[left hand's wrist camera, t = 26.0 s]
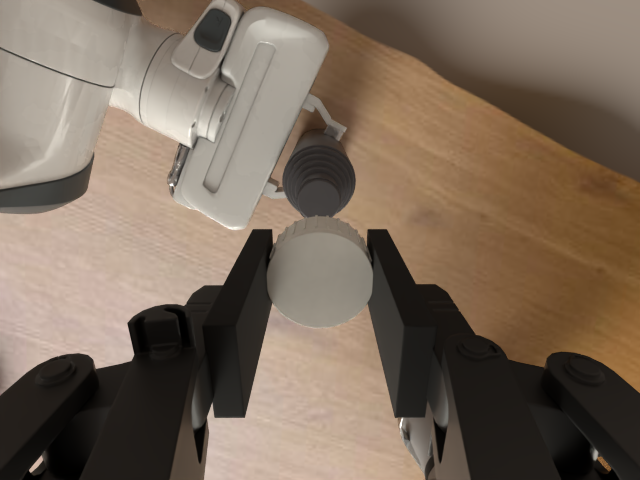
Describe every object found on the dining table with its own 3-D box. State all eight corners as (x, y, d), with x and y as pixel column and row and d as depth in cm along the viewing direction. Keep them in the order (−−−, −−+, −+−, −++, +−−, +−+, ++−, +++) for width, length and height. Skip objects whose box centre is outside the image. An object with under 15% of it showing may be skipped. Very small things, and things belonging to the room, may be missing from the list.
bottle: (300, 123, 40) (282, 146, 21) (347, 134, 40) (374, 166, 21) (291, 171, 42) (267, 233, 23) (336, 181, 42) (351, 250, 23)
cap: (273, 304, 15) (267, 330, 13) (267, 214, 14) (260, 231, 12) (367, 303, 15) (373, 329, 13) (370, 213, 14) (377, 229, 12)
